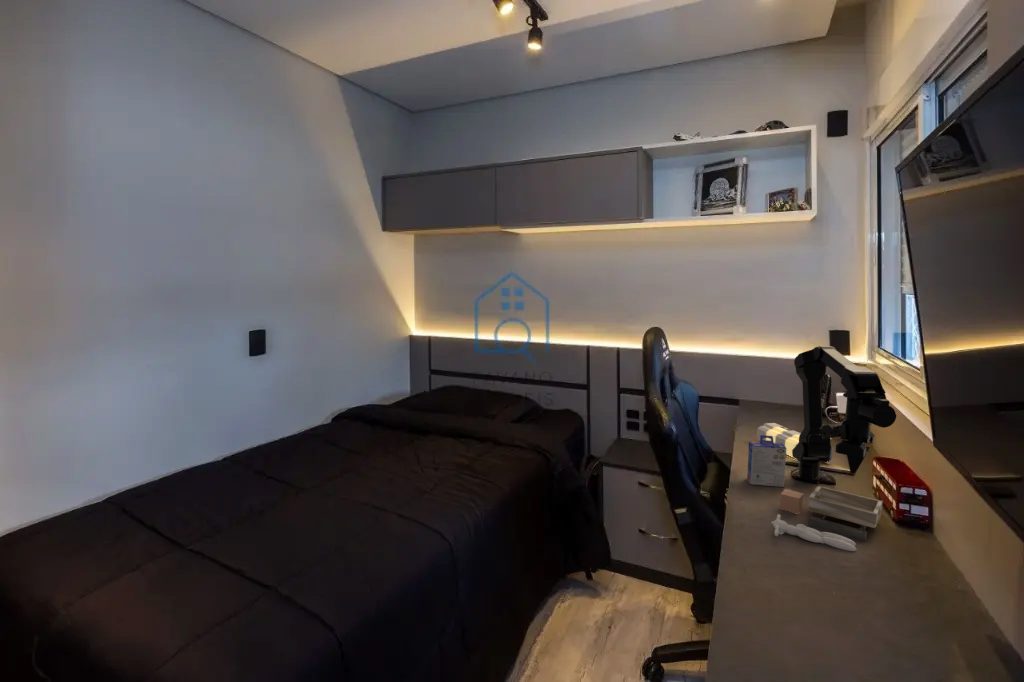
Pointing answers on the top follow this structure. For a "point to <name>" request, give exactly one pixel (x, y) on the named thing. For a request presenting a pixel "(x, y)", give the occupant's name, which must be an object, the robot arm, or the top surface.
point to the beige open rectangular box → (845, 506)
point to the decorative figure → (813, 535)
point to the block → (791, 501)
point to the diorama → (782, 436)
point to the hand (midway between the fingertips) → (853, 473)
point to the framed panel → (838, 528)
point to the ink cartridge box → (766, 462)
